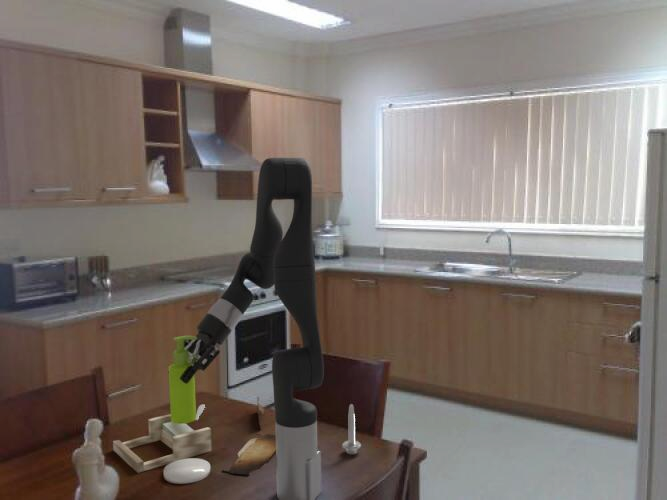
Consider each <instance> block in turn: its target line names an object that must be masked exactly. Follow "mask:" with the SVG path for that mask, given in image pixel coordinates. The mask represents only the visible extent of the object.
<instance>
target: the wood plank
mask: <svg viewBox="0 0 667 500" xmlns="http://www.w3.org/2000/svg"><path fill="white" fill-rule="evenodd" d="M259 399H260V397H259V396H257V402H256V403H257V404H256V406H257V415H258V424H259V427H260V428H259V429H260V430H261V429H262V424H261V423H262V416H263V415H264V413H265V410H264V408H263V407H262V406H261V405H260V402H259V401H260V400H259Z"/></svg>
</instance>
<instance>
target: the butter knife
mask: <svg viewBox="0 0 667 500" xmlns="http://www.w3.org/2000/svg"><path fill="white" fill-rule="evenodd" d="M205 405H206V404H200V405H199V406H198V408H197V409H196V419H195V420H194V421H199V418H200V417H199V416H201V415H202V413H203V412H204V411H203V410H205V409H206V407H205ZM204 408H205V409H204Z"/></svg>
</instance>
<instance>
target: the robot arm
mask: <svg viewBox="0 0 667 500" xmlns="http://www.w3.org/2000/svg"><path fill="white" fill-rule="evenodd" d="M312 177H313V176H312V170H311V166H310V163H309V161H308V160H307V159H306V158H303V157H269V158H266V159H265V160H264V161H262V164H261V165H260V169H259V174H258V183H257V195H256V210H255V213H256V214H255V225H254V230H253V235H252V238H251V243H250V247H249V248H250V249H249V252H247V253H245V254H244V255H243V256H241V257H242V258H241V259H240V261H239V264H238V265H237V269H236V271H235V274H234V276H233V278H232V280H231V283H230V284H229V286H228V287H227V289H226V290H225V291H224V292H223V294H222V295H221V296H220V298H219V299H218V300H217V301H216V302H215V303H214V304H213V305H212V306H211V307H210V309H209V310H208V311H207V313H206V314H205V315H204V317H203V318H201V319H202V320H200V321H199V323H198V325H196V330H197V332H198V333H197V334H196V335H195V336H196V337H197V338H198V339H197V340H184V349H186V350H188V360H189V362H190V361H191V362H190V363H191V364H190V365H191V366H188V367H187V369H186V370H185V371H184V373H183V374H182V375H181V377H180V380H181V381H183V382H184V383H186V384H187V383H188V382H189V381H190V380H191V378H192V377H193V376H194V375H196V373H197V372H200V370H201V371H203V372H204V371H205V370H207V368H208V367H209V366H210V364H211V363H212V362H213V361H214V360H215V359H216V357H218V355H219V354H220V352H221V351H220V349H219V348H217V347H216V346H222V345H223V344H224V342H225V341H226V339H227V338H228V337H229V335H230V334H231V333H232V332H233V330H234V329H235V327H237V325H238V324H239V322H240V321H241V318H242V316H243V315H244V314H245V313H246V312H247V310H248V309H249V307H250V306H251V305H252V303H253V302H254V293H252V291H251V290H250V289H249V288H248V287H247V286H246V285H245V284H244V283H245V280H247V281H248V282H250V283H252V284H254V285H255V286H257V288H261V289H262V290H269V289H270V288H272V287H274V290H275V293H276V295H277V297H278V299H279V300H280V301H281V303H282V304H283V306H284V307H285V309H286V310H287V311H288V312H289V315H290V316H291V317H292V318H293V320H294V321H295V323H296V325H297V327H298V330H299V332H300V336H301V342H302V347H294V348H287V349H285V348H284V349H280V350H277V351H275V352H274V354H273V356H272V359H271V360H272V362H271V372H272V373H271V374H272V375H271V376H272V384H273V385H272V386H273V405H274V406H273V407H274V414H275V416H274V417H275V422H274V423H275V435H276V452H275V463H276V464H275V466H276V467H275V469H276V478H275V479H276V496H277V499H278V500H316V498H317V497H318V496H319V495H320V494H321V492H322V451H320V450H318V410H317V407H316V406H315V405H314V404H313V403H311V402H309V401H306V400H301V399H298V398H297V399H296V398H294V397H293V393H294V392H299V391H306V390H311V389H317V388H319V387H321V386H322V384H323V382H324V376H325V366H324V365H325V364H324V363H325V362H324V356H323V355H324V354H323V348H322V341H321V336H320V328H319V319H318V316H319V315H318V303H317V281H316V266H315V265H316V262H315V254H314V253H315V252H314V251H315V250H314V243H313V241H314V240H313V223H312V222H313V221H312V217H313V214H312V213H313V211H312V210H313V178H312ZM275 200H276V201H277V200H278V201H280V200H281V201H282V200H293V214H292V219H291V221H290V224H289V226H288V228H287V231H286V233H285V234H284V235H283V233H284V232H283V227H282V224H281V221H280V220H279V218H278V216H277V214H276V212H275V211H274V208H273V205H272V203H273V201H275ZM167 373H168V375H169V370H168V371H167Z"/></svg>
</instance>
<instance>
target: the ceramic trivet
mask: <svg viewBox="0 0 667 500" xmlns="http://www.w3.org/2000/svg"><path fill="white" fill-rule="evenodd" d="M210 473H211V464H210V462H208V461H207V460H206V459H203V458H198V457H194V458H193V457H189V458H186V459H181V460H177V461H174V462H172V463H169V464H166V465H165V467H164V468H163V478H164V480H165V481H167V482H168V483H172V484H176V485H177V484H179V485H180V484H181V485H182V484H183V485H185V484H192V483H197V482H199V481H202V480H203V479H205V478H207V477H208V476H209V475H210Z"/></svg>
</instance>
